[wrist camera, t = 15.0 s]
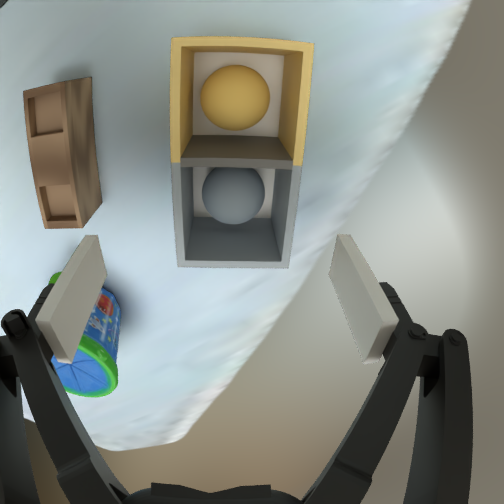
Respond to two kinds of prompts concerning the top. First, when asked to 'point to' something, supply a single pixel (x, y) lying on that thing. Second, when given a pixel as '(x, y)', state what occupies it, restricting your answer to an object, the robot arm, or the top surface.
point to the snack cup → (94, 351)
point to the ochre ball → (235, 97)
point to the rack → (63, 152)
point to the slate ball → (233, 194)
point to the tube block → (238, 150)
